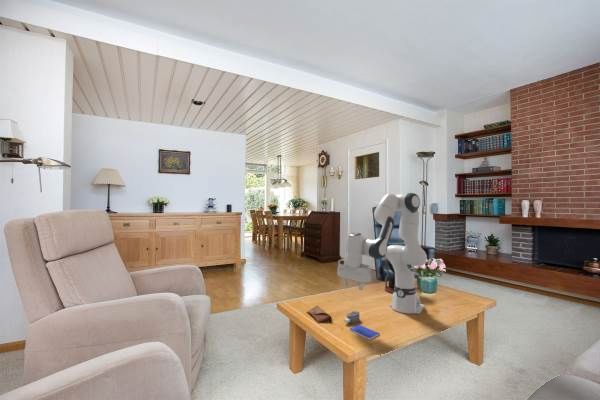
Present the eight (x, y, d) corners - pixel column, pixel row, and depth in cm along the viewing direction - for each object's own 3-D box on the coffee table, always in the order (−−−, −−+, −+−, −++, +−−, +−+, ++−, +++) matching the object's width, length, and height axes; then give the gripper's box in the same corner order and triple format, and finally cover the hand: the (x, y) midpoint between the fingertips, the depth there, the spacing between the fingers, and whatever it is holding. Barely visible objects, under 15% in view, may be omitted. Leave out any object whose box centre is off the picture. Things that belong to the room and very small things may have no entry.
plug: (354, 317, 161) (354, 310, 161) (360, 319, 159) (360, 312, 159) (342, 323, 153) (342, 316, 153) (348, 325, 150) (349, 318, 151)
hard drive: (349, 328, 145) (369, 337, 135) (359, 324, 150) (379, 332, 141) (349, 331, 145) (369, 340, 135) (359, 327, 150) (379, 335, 141)
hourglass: (407, 289, 218) (408, 256, 218) (407, 295, 203) (407, 260, 203) (385, 287, 223) (386, 255, 224) (383, 292, 208) (384, 258, 209)
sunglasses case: (304, 311, 169) (310, 301, 170) (313, 316, 171) (319, 306, 172) (318, 323, 152) (324, 312, 153) (328, 328, 154) (334, 317, 156)
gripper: (373, 264, 152) (373, 290, 152) (342, 259, 167) (342, 282, 166) (367, 266, 148) (367, 293, 147) (335, 260, 162) (335, 284, 162)
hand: (353, 287), depth 157 cm, fingers open, 8 cm apart
